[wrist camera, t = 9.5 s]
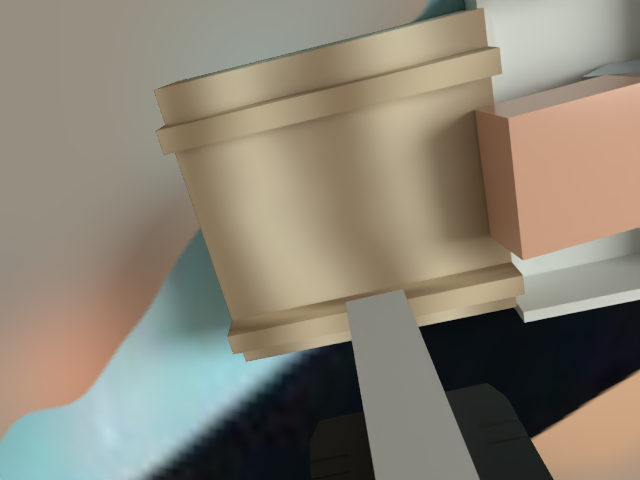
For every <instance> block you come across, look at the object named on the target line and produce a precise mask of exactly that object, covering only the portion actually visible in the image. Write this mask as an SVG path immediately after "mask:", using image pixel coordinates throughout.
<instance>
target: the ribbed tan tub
mask: <svg viewBox="0 0 640 480" xmlns="http://www.w3.org/2000/svg"><path fill="white" fill-rule="evenodd" d="M499 74H502V66H501V56H500V47H490V46H488V42H487V33H486V24H485V15H484V8H477V9H470V10H462V11H457V12H453V13H449V14H445V15H441V16H437V17H433V18H429V19H425V20H421V21H417V22H413V23H409V24H405V25H401V26H397V27H393V28H389V29H385V30H381V31H377V32H373V33H369V34H366V35H361V36H357V37H353V38H349V39H345V40H341V41H337V42H333V43H329V44H325V45H321V46H317V47H313V48H309V49H305V50H301V51H297V52H293V53H289V54H286V55H281V56H277V57H273V58H269V59H266V60H261V61H258V62H254V63H249V64H245V65H241V66H237V67H234V68H230V69H225V70H221V71H217V72H213V73H209V74H205V75H201V76H197V77H194V78H190V79H185V80H182V81H178V82H175V83H172V84H169V85H167V86H164V87H161V88H158V89H156V90H154V93H155V96H156V98H157V101H158V104H159V107H160V110H161V113H162V116H163V119H164V122H165V126H163V127H162V128H160V129H158V130H157V131H156V133H157V136H158V139H159V142H160V145H161V148H162V151H163V154H164V155H165V154H169V153H173V152H175V154H176V157H177V160H178V163H179V166H180V169H181V172H182V175H183V178H184V181H185V184H186V187H187V190H188V193H189V195H190V198H191V201H192V204H193V207H194V210H195V213H196V216H197V219H198V222H199V225H200V228H201V231H202V234H203V237H204V240H205V243H206V246H207V248H208V251H209V254H210V257H211V260H212V263H213V266H214V269H215V272H216V275H217V278H218V281H219V284H220V287H221V290H222V293H223V296H224V298H225V301H226V304H227V307H228V310H229V313H230V316H231V319H232V323H231V326H230V330H229V333H228V340H229V343H230V346H231V349H232V352H233V354H238V353H242V352H243V354H244V357H245V360H246V362H247V361H252V360H257V359H262V358H267V357H272V356H277V355H282V354H287V353H292V352H296V351H301V350H306V349H311V348H316V347H321V346H326V345H331V344H336V343H341V342H346V341H350V340H352V338H351V332H350V326H349V320H348V314H347V308H346V302H348V301H352V300H356V299H361V298H365V297H370V296H374V295H379V294H383V293H387V292H392V291H396V290H401V289H403V291H404V293H405V296H406V298H407V301H408V303H409V306H410V308H411V311H412V313H413V316H414V318H415V321H416V323H417V326H418V327H419V326H424V325H429V324H434V323H439V322H444V321H449V320H454V319H459V318H463V317H468V316H473V315H478V314H483V313H488V312H493V311H498V310H503V309H508V308H513V307H517V304H516V296H520V295H525V289H524V279H523V275H522V273H521V272H520V271H519V270H518V269H517V268H516V266H515V265H514V264H513V263H512V259H511V251H509V250H508V249H506V248H505V247H504V246H502V245H501V244H500V243H498V242H497V241H496V240H494V239H493V238H491V236H490V228H489V220H488V212H487V204H486V196H485V188H484V180H483V172H482V164H481V156H480V148H479V140H478V132H477V124H476V116H475V110H476V109H480V108H483V107H487V106H491V105H494V96H493V87H492V78H491V76H495V75H499Z"/></svg>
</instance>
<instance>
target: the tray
mask: <svg viewBox="0 0 640 480" xmlns="http://www.w3.org/2000/svg"><path fill="white" fill-rule="evenodd" d="M464 3H465V10H470V9H477V8H484V15H485V24H486V33H487V42H488V46H490V47H500V56H501V66H502V74H499V75H495V76H491V78H492V87H493V96H494V105H495V104H498V103H502V102H506V101H510V100H513V99H517V98H521V97H525V96H528V95H532V94H536V93H540V92H543V91H547V90H551V89H555V88H558V87H562V86H566V85H570V84H573V83H577V82H581V77H583V76H585V75H587V74H589V73H591V72H593V71H594V70H596V69H598V68H600V67H602V66H604V65H606V64H608V63H611V62H620V61H629V60H638V59H640V0H464ZM511 259H512V263H513V264H514V265H515V266H516V268H517V269H518V270H519V271H520V272H521V273H522V275H523V279H524V289H525V295H520V296H516V304H517V307H514V308H515V310H516V311H517V312H518V314H519V315H520V317H521V318H522V319H523V321H524V322H530V321H534V320H539V319H544V318H549V317H554V316H559V315H564V314H569V313H574V312H579V311H584V310H589V309H594V308H599V307H604V306H609V305H614V304H619V303H624V302H629V301H634V300H639V299H640V227H639V228H635V229H632V230H628V231H625V232H621V233H618V234H614V235H611V236H607V237H604V238H600V239H597V240H593V241H590V242H586V243H583V244H579V245H576V246H572V247H569V248H565V249H562V250H558V251H555V252H551V253H548V254H544V255H541V256H537V257H534V258H530V259H527V260H521V259H520V258H519V257H517V256H516V255H515V254H513V253H512V252H511Z"/></svg>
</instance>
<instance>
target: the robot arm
mask: <svg viewBox="0 0 640 480" xmlns="http://www.w3.org/2000/svg"><path fill="white" fill-rule="evenodd" d="M346 308H347V314H348V320H349V326H350V332H351V338H352V343H353V349H354V355H355V361H356V367H357V373H358V379H359V385H360V391H361V396H362V402H363V408H364V411H363V412H358V413H353V414H349V415H344V416H339V417H335V418H330V419H325V420H321V421H319V423H318V425H317V427H316V429H315V431H314V433H313V435H312V438H311V440H310V461H311V480H553V478H552V476H551V474H550V473H549V471H548V469H547V467H546V466H545V464H544V462H543V460H542V459H541V457H540V455H539V453H538V452H537V450H536V448H535V446H534V445H533V443H532V441H531V439H530V437H528V436H527V432H526V430H525V429H524V427H523V425H522V423H521V422H520V420H518V417H517V415H516V413H515V411H514V409H513V408H512V406H511V404H510V402H509V401H508V399H507V397H506V396H504V395H503V394H501V393H500V392H499V391H497V390H496V389H495V388H493V387H492V386H490V385H489V384H488V383H486V384H481V385H476V386H472V387H467V388H462V389H458V390H453V391H448V392H444V390H443V387H442V385H441V382H440V380H439V377H438V375H437V373H436V370H435V368H434V365H433V363H432V360H431V358H430V355H429V353H428V350H427V348H426V345H425V343H424V340H423V338H422V335H421V333H420V330H419V328H418V326H417V323H416V321H415V318H414V316H413V313H412V311H411V308H410V306H409V303H408V301H407V298H406V296H405V293H404V291H403V289H401V290H396V291H392V292H387V293H383V294H379V295H374V296H370V297H365V298H361V299H356V300H352V301H348V302H346Z"/></svg>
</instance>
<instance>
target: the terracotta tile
mask: <svg viewBox="0 0 640 480" xmlns="http://www.w3.org/2000/svg"><path fill="white" fill-rule="evenodd" d="M475 116H476V124H477V132H478V140H479V148H480V156H481V164H482V172H483V180H484V188H485V196H486V204H487V212H488V220H489V228H490V236H491V238H493V239H494V240H496V241H497V242H498V243H500V244H501V245H502V246H504V247H505V248H506V249H508V250H509V251H511V252H512V253H513V254H515V255H516V256H517V257H519V258H520V259H521V260H527V259H530V258H534V257H537V256H541V255H544V254H548V253H551V252H555V251H558V250H562V249H565V248H569V247H572V246H576V245H579V244H583V243H586V242H590V241H593V240H597V239H600V238H604V237H607V236H611V235H614V234H618V233H621V232H625V231H628V230H632V229H635V228H639V227H640V77H629V76H614V75H603V76H600V77H596V78H592V79H588V80H585V81H581V82H577V83H573V84H570V85H566V86H562V87H558V88H555V89H551V90H547V91H543V92H540V93H536V94H532V95H528V96H525V97H521V98H517V99H513V100H510V101H506V102H502V103H498V104H495V105H491V106H487V107H483V108H480V109H476V110H475Z"/></svg>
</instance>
